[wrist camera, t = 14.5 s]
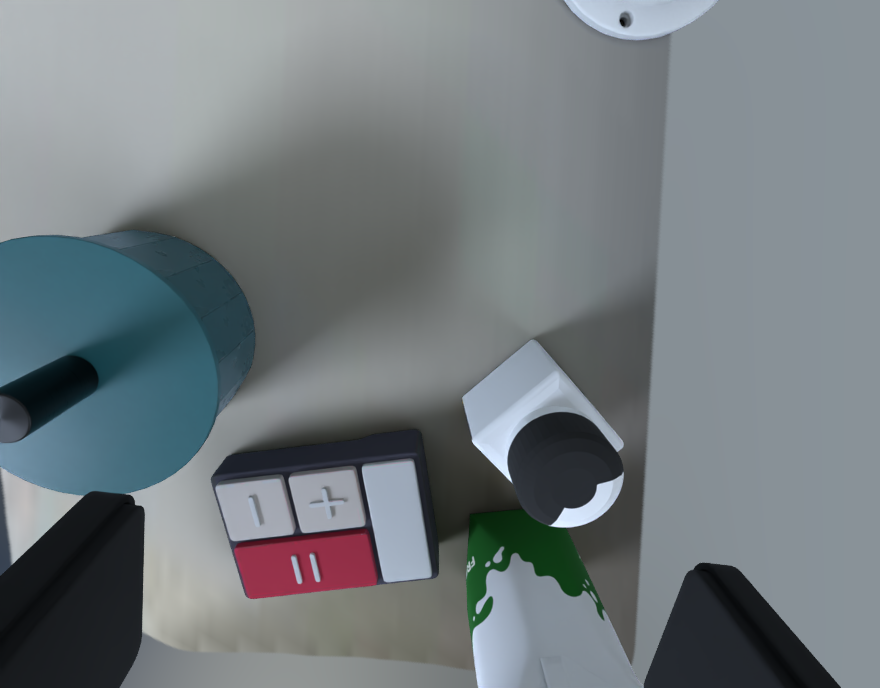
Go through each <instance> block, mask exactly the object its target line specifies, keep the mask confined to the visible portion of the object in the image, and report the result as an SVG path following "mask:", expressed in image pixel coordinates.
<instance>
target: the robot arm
mask: <svg viewBox="0 0 880 688" xmlns="http://www.w3.org/2000/svg"><path fill="white" fill-rule="evenodd" d="M564 1H565V2H566V4H567V5H568V6H569V8H570V9H571V10H572V12H574V13H575V14H576V15H577V16H578V17H579V18H580V19H581V20H583V21H584V22H585V23H586V24H587V25H589V26H591V27H592V28H594V29H596V30H598V31H600V32H601V33H603V34H606V35H609V36H613V37H616V38H620V39H628V40H645V39H652V38H658V37H661V36H664V35H667V34H669V33H672V32H675V31H677V30H679V29H681V28H682V27H684V26H686V25H688V24H690V23H692V22H693V21H695V20H696V19H697V18H699V17H700V16H701V15H702V14H704V13H705V12H707V11H708V10H709V9H711V8H712V7H713V6H714V5H715V4H716V2H718V0H564ZM620 19H622V20H623V21H624V27H623V26H621V24H620V22H619V21H620ZM144 521H145V513H144V508H143V507H142V506H137V505H135V500H134V498H133V496H131V495H126V494H118V493H109V492H101V491H91V492H89V493H88V494H86V495H85V496H84V497H83V498H82V499H81V500H80V501H79V502H78V503H76V504H75V505H74V506H73V507H72V508H71V509H70V510H69V511H68V512H67V513H66V514H65V515H64V516H63V517H62V518H61V519H60V520H59V521H58V522H57V523H56V524H54V525H53V526H52V527H51V528H50V529H49V530H48V531H47V532H46V533H45V534H44V535H43V536H42V537H41V538H40V539H39V540H38V541H37V542H36V543H35V544H34V545H32V546H31V547H30V548H29V549H28V550H27V551H26V552H25V553H24V554H23V555H22V556H21V557H20V558H19V559H18V560H17V561H16V562H15V563H14V564H13V565H11V566H10V567H9V568H8V569H7V570H6V571H5V572H4V573H3V574H2V575H1V576H0V688H119V687H120V686H121V684H122V682H123V681H124V679H125V677H126V675H127V674H128V672H129V670H130V668H131V667H132V665H133V663H134V661H135V659H136V656H137V654H138V651H139V648H140V644H141V638H142V608H143V565H144ZM644 688H841V687H840V686H839V685H838V684H837V682H836V681H835V680H834V679H833V678H832V677H831V675H830V674H829V673H828V672H827V671H826V670H825V668H824V667H823V666H822V665H821V664H820V663H819V662H818V661H817V659H816V658H815V657H814V656H813V655H812V654H811V652H810V651H809V650H808V649H807V648H806V647H805V645H804V644H803V643H802V642H801V641H800V640H799V638H798V637H797V636H796V635H795V634H794V633H793V632H792V630H790V628H789V627H788V626H787V625H786V624H785V622H784V621H783V620H782V619H781V618H780V617H779V615H778V614H777V613H776V612H775V611H774V610H773V609H772V607H771V606H770V605H769V604H768V603H767V601H766V600H765V599H764V598H763V597H762V596H761V595H760V594H759V592H758V591H757V590H756V589H755V588H754V587H753V585H752V584H751V583H750V582H749V581H748V580H747V579H746V578H745V576H744V575H743V574H742V573H741V572H740V571H739V570H738V569H737V568H735V567H733V566H728V565H720V564H711V563H699V564H698V565H697V566H695V568H694V570H691V571H689V572H688V573H687V574H686V576H685V578H684V581H683V583H682V586H681V589H680V591H679V594H678V597H677V599H676V602H675V604H674V607H673V609H672V612H671V614H670V617H669V620H668V622H667V625H666V628H665V630H664V633H663V635H662V638H661V641H660V643H659V645H658V648H657V651H656V653H655V656H654V658H653V661H652V664H651V666H650V669H649V671H648V674H647V676H646V679H645V683H644Z"/></svg>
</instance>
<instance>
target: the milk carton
mask: <svg viewBox="0 0 880 688" xmlns="http://www.w3.org/2000/svg"><path fill="white" fill-rule="evenodd" d="M466 585H467V610H468V619H469V626H470V633H471V640H472V647H473V654H474V661H475V669H476V676H477V683H478V688H644V687H643V685H642V684H641V682H640V681H639V679H638V678H637V676H636V675H635V673H634V671H633V669H632V667H631V665H630V662H629V660H628V658H627V656H626V654H625V652H624V650H623V647H622V645H621V643H620V641H619V639H618V637H617V635H616V633H615V630H614V628H613V626H612V624H611V622H610V620H609V618H608V615H607V613H606V611H605V609H604V607H603V605H602V603H601V601H600V598H599V596H598V594H597V592H596V590H595V588H594V586H593V583H592V581H591V579H590V577H589V575H588V573H587V571H586V569H585V566H584V564H583V562H582V560H581V558H580V556H579V554H578V552H577V550H576V548H575V545H574V543H573V541H572V539H571V537H570V535H569V533H568V531H567V529H566V527H553V526H549V525H545V524H543V523H540V522H538V521H537V520H535V519H534V518H532V517H531V516H530V515H529V514H528V513H527V512H526V511H525V510H524V509H519V510H508V511H497V512H487V513H476V514H470V521H469V538H468V555H467V572H466Z"/></svg>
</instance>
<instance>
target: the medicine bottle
mask: <svg viewBox="0 0 880 688" xmlns="http://www.w3.org/2000/svg"><path fill="white" fill-rule="evenodd" d="M462 403H463V407H464V411H465V415H466V419H467V423H468V427H469V431H470V435H471V439H472V442H473V444H474V445H475V446H476V447H477V448H478V449H479V450H480V451H481V452H482V453H483V454H484V455H485V456H486V457H487V458H488V459H489V460H490V461H491V462H492V463H493V464H494V465H495V466H496V467H497V468H498V469H499V470H500V471H501V472H502V473H503V474H504V475H505V476H506V477H507V478H508V479H509V480H510V481H511V482H512V483H513V486H514V489H515V492H516V494H517V497H518V500H519V502H520V504H521V506H522V507H523V509H524V510H525V511H526V512H527V513H528V514H529V515H530V516H531V517H532V518H534V519H535V520H537V521H538V522H540V523H543V524H545V525H549V526H553V527H576V526H580V525H584V524H586V523H589V522H591V521H593V520H595V519H597V518H598V517H600V516H601V515H602V514H604V513H605V512H606V511H607V510H608V509H609V508H610V507H611V505H612V504H613V503H614V501H615V500H616V498H617V497H618V495H619V493H620V490H621V487H622V484H623V478H624V471H623V464H622V461H621V458H620V456H619V454H618V453H617V452H618V451H619V450H621V449H622V448H623V446H624V443H623V441H622V439H621V438H620V437H619V436H618V435H617V433H616V432H615V431H614V430H613V429H612V428H611V426H610V425H609V424H608V423H607V422H606V420H605V419H604V418H603V417H602V416H601V414H600V413H599V412H598V411H597V410H596V409H595V407H594V406H593V405H592V404H591V403H590V401H589V400H588V399H587V398H586V397H585V396H584V395H583V393H582V392H581V391H580V390H579V389H578V388H577V386H576V385H575V384H574V383H573V382H572V381H571V380H570V378H569V377H568V376H567V375H566V374H565V373H564V371H563V370H562V369H561V368H560V367H559V366H558V365H557V363H556V362H555V361H554V360H553V359H552V358H551V356H550V355H549V354H548V353H547V352H546V351H545V350H544V348H543V347H542V346H541V345H540V344H539V343H538V342H537V341H536V340H533V339H532V340H530V341H529V342H527V343H526V344H525V345H524V346H523V347H521V348H520V349H519V350H518V351H517V352H515V353H514V354H513V355H512V356H511V357H509V358H508V359H507V360H506V361H505V362H503V363H502V364H501V365H500V366H499V367H497V368H496V369H495V370H494V371H493V372H491V373H490V374H489V375H488V376H487V377H485V378H484V379H483V380H482V381H481V382H480V383H478V384H477V385H476V386H475V387H474V388H472V389H471V390H470V391H469V392H468V393H466V394H465V395H464V396H463V397H462Z"/></svg>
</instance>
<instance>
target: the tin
mask: <svg viewBox="0 0 880 688" xmlns="http://www.w3.org/2000/svg"><path fill="white" fill-rule="evenodd" d="M82 238H84V239H89V240H93V241H97V242H100V243H103V244H106V245H109V246H112V247H115V248H117V249H120V250H122V251H124V252H126V253H128V254H130V255H132V256H134V257H136V258H138V259H139V260H141V261H143V262H144V263H146V264H147V265H149V266H150V267H152V268H154V269H155V270H156V271H157V272H159V273H160V274H161V275H162V276H164V277H165V278H166V279H167V280H169V281H170V282H171V283H172V284H173V285H174V286H175V287H176V288H177V289H178V290H179V291H180V292H181V293H182V294H183V295H184V296H185V297H186V299H187V300H188V301H189V303H190V304H191V305H192V306H193V308H194V309H195V310H196V312H197V313H198V315H199V317H200V318H201V320H202V322H203V323H204V325H205V326H206V328H207V331H208V333H209V335H210V337H211V340H212V342H213V344H214V348H215V351H216V355H217V358H218V362H219V369H220V375H221V396H220V404H219V410H218V413H217V416H218V415H219V413H220V412H221V411H222V410H223V409H224V407H225V406H226V405H227V404H228V403H229V401H230V400H231V399H232V398H233V397H234V395H235V394H236V392H237V390H238V389H239V387H240V385H241V384H242V382H243V381H244V379H245V377H246V375H247V373H248V371H249V370H250V368H251V365H252V360H253V356H254V350H255V328H254V321H253V317H252V314H251V310H250V307H249V305H248V302H247V300H246V298H245V296H244V294H243V292H242V290H241V289H240V287H239V285H238V284H237V283H236V281H235V280H234V279H233V277H232V276H231V275H230V273H229V272H228V271H227V270H226V269H225V268H224V267H223V266H222V265H221V264H220V263H219V262H217V261H216V260H215V259H214V258H213V257H212V256H210V255H209V254H207V253H206V252H204V251H203V250H201V249H200V248H198V247H196V246H194V245H192V244H190V243H188V242H186V241H184V240H181V239H179V238H176V237H173V236H169V235H165V234H161V233H155V232H146V231H139V230H128V231H121V232H115V233H108V234H102V235H95V236H89V237H82ZM217 416H216V417H217Z"/></svg>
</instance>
